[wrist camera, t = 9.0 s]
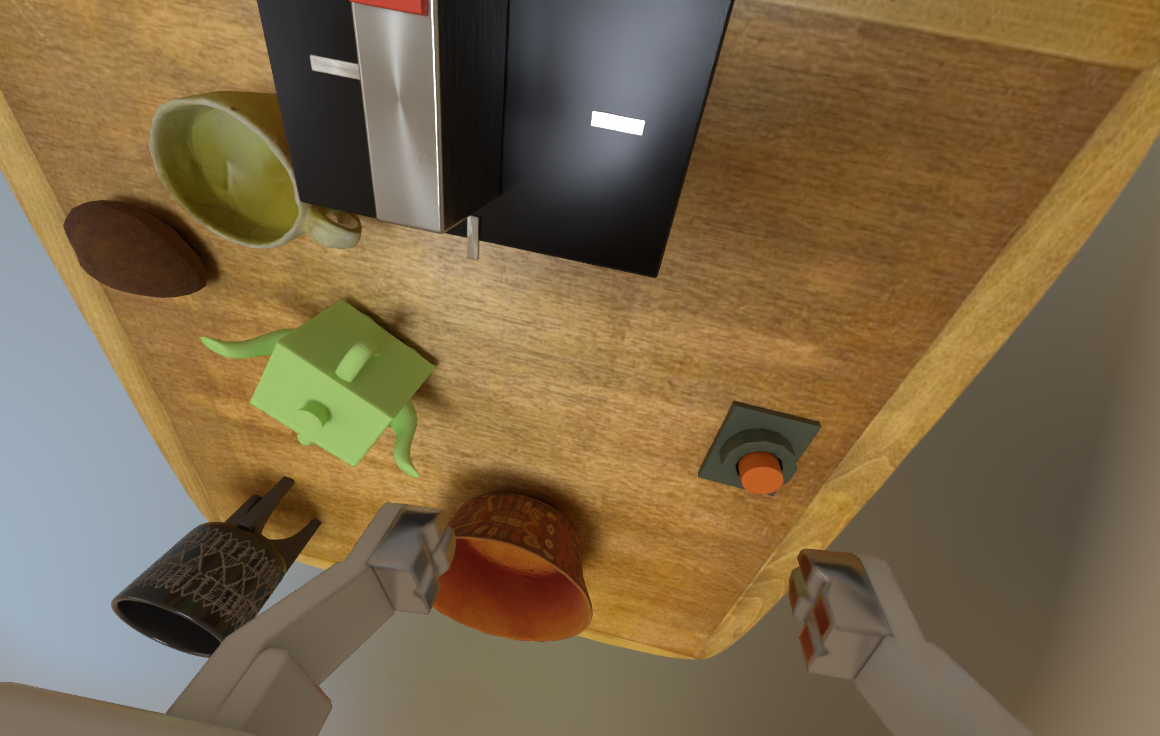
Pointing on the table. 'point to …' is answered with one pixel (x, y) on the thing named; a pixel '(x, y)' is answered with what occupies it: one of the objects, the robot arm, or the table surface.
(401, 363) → the teapot
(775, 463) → the button
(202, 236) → the table surface
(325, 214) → the mug
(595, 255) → the black lever box
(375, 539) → the robot arm
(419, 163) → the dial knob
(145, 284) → the potato
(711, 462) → the housing
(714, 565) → the table surface
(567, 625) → the bowl
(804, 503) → the table surface
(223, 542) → the planter
